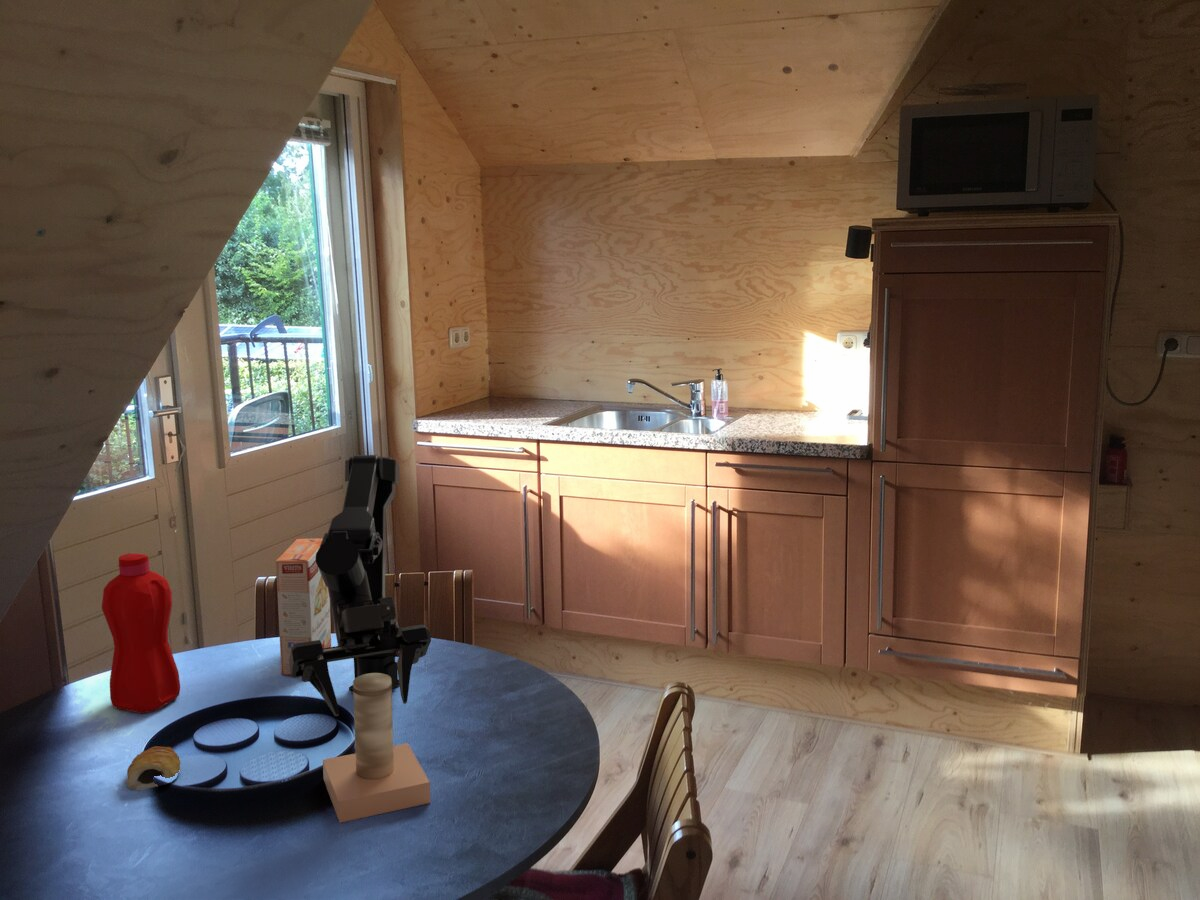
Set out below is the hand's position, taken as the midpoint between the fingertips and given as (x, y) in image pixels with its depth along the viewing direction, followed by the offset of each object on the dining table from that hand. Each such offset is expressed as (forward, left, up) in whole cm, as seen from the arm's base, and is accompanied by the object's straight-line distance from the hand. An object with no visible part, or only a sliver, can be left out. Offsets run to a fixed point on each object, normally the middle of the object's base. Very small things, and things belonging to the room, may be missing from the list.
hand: (371, 708), depth 140 cm
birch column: (0, 0, -9) cm, 9 cm away
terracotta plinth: (0, 0, -12) cm, 12 cm away
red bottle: (-51, +7, -12) cm, 53 cm away
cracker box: (-39, +31, -12) cm, 51 cm away
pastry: (-30, -10, -12) cm, 34 cm away
